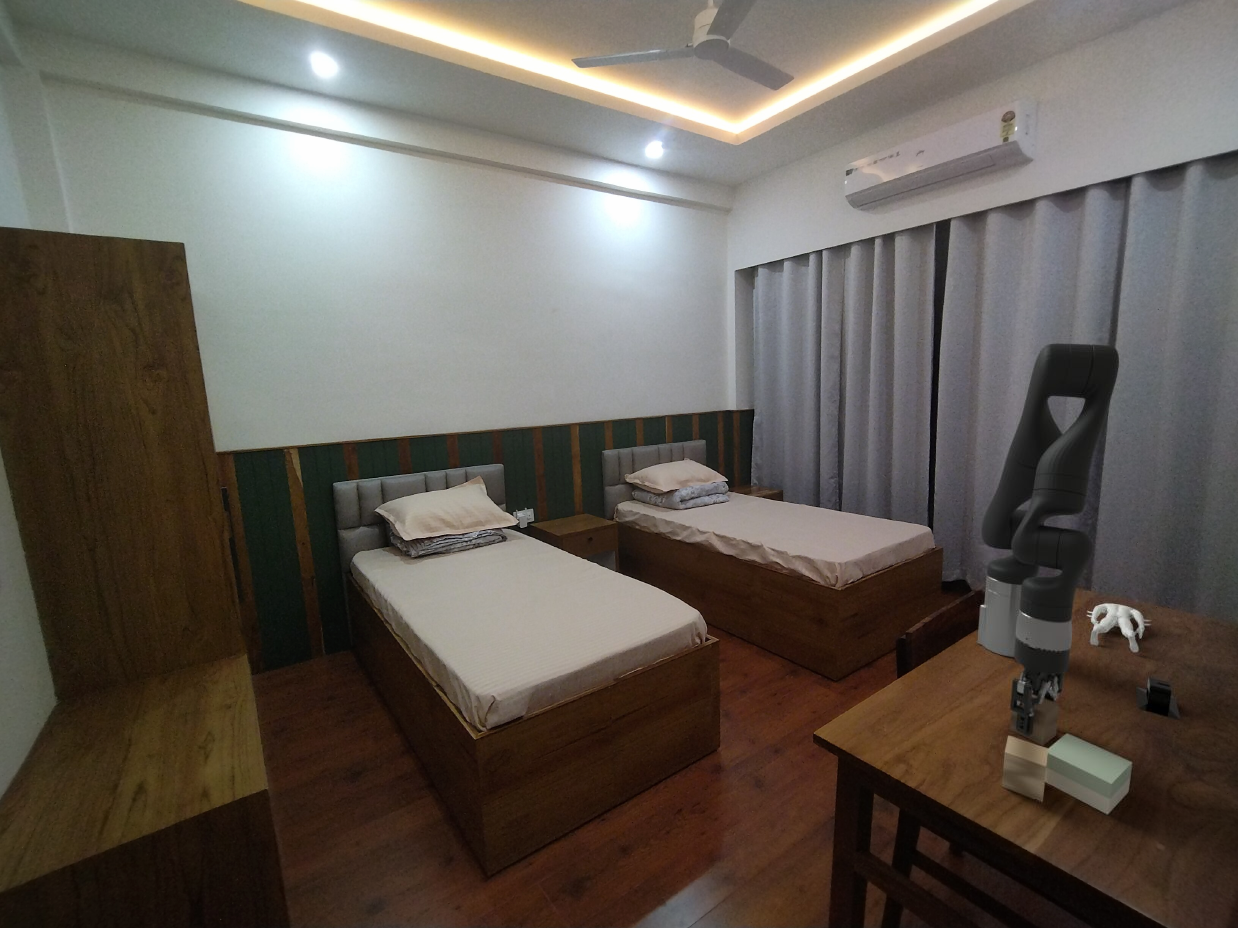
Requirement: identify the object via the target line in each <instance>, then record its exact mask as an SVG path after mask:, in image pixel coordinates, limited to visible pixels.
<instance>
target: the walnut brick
mask: <svg viewBox="0 0 1238 928" xmlns="http://www.w3.org/2000/svg"><path fill="white" fill-rule="evenodd" d="M1032 697H1033V698H1037V696H1035V695H1032ZM1031 704H1032V702H1031ZM1022 706H1024V703H1023V704H1022ZM1059 710H1060V704H1059V703H1057V702H1056V701H1055V702H1052V701H1050V700H1047V699H1045V698H1044V699H1043V702H1042V704H1041V705H1038V706H1037V708H1036V711H1035V715H1034V723H1033V733H1032V734H1031V735H1030V736H1028V735H1026V734H1023V733H1021V732H1019V731H1018V730H1017V729H1016V722H1017V713H1016V712H1014V711H1012V710H1011V715H1010V723H1009V730H1010V731H1011V732H1014V733H1016V734H1018V735H1020V736H1022V737H1024V738H1027V739H1028V740H1031V741H1032V742H1035V743H1036V744H1039V745H1040V746H1045V744H1046V743H1048V742H1049V741H1050V740H1052V739H1053V738H1054V737H1056V736H1057V729H1058V719H1059Z"/></svg>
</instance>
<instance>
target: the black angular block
mask: <svg viewBox="0 0 1238 928" xmlns="http://www.w3.org/2000/svg"><path fill="white" fill-rule="evenodd" d="M1135 691H1136V701H1137V708H1138V710H1141V711H1145V712H1148V713H1152V714H1156V715H1160V716H1162V717H1165V718H1166V717H1167V718H1170V719H1174V720H1177V721H1181V720H1182V719H1181V716H1180V712H1179V709H1178V705H1177V701H1176V697H1175V696H1173V695H1172V687H1171V682H1169V681H1167V680H1166V681H1165V680H1161V679H1157V678H1154V677H1150V676H1149V677H1148V680H1147V685H1146V689H1145V688H1141V687H1138V686H1136V687H1135Z"/></svg>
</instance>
